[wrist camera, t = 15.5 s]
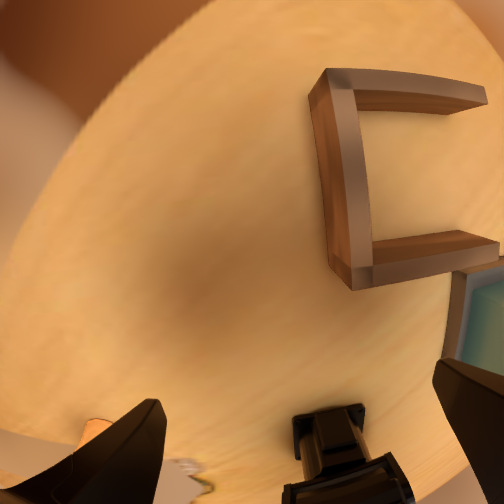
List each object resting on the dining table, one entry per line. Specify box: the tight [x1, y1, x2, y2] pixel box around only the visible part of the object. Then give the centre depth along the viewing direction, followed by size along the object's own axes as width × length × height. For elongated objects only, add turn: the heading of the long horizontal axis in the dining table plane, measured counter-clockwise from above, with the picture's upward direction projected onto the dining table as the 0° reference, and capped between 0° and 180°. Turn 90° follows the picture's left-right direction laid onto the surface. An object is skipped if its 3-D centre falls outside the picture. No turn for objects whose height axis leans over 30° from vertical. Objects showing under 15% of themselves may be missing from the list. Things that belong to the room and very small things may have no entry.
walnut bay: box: [308, 68, 500, 291], centre depth 16 cm, size 11×11×5 cm
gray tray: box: [441, 256, 504, 362], centre depth 20 cm, size 11×10×2 cm
